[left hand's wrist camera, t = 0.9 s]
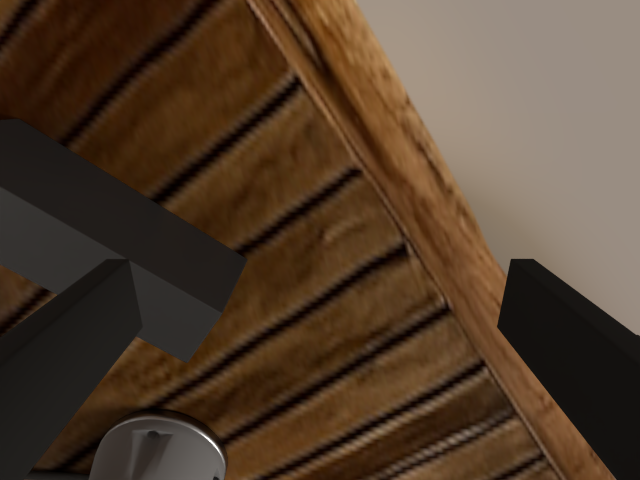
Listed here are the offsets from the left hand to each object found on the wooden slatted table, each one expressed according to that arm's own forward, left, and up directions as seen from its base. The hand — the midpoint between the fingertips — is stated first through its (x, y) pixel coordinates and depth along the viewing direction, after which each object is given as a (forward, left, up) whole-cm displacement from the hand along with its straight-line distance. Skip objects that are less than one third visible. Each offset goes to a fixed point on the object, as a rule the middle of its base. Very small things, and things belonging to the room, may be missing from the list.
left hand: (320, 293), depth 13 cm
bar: (-16, +9, -21) cm, 28 cm away
